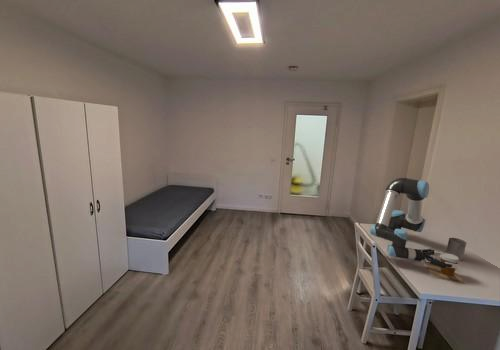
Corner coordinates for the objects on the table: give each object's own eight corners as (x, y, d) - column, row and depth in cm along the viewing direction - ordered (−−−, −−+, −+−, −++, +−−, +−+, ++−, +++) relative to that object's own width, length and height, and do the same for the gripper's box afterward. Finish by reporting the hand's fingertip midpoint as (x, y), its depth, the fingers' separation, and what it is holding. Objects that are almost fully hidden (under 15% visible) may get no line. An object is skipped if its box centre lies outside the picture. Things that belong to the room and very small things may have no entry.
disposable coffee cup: (434, 268, 154) (436, 251, 152) (449, 269, 152) (452, 252, 150) (443, 276, 144) (446, 259, 142) (460, 278, 143) (463, 260, 141)
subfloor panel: (422, 262, 161) (422, 261, 161) (449, 267, 157) (449, 266, 156) (433, 277, 145) (433, 276, 145) (464, 283, 141) (464, 281, 140)
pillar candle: (444, 252, 176) (448, 234, 173) (461, 256, 171) (465, 238, 168) (445, 258, 169) (450, 239, 166) (463, 262, 163) (468, 243, 160)
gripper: (406, 250, 167) (440, 255, 161) (420, 270, 143) (461, 277, 137) (407, 240, 165) (442, 246, 159) (422, 259, 142) (464, 266, 136)
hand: (451, 260), depth 148 cm, fingers open, 13 cm apart
